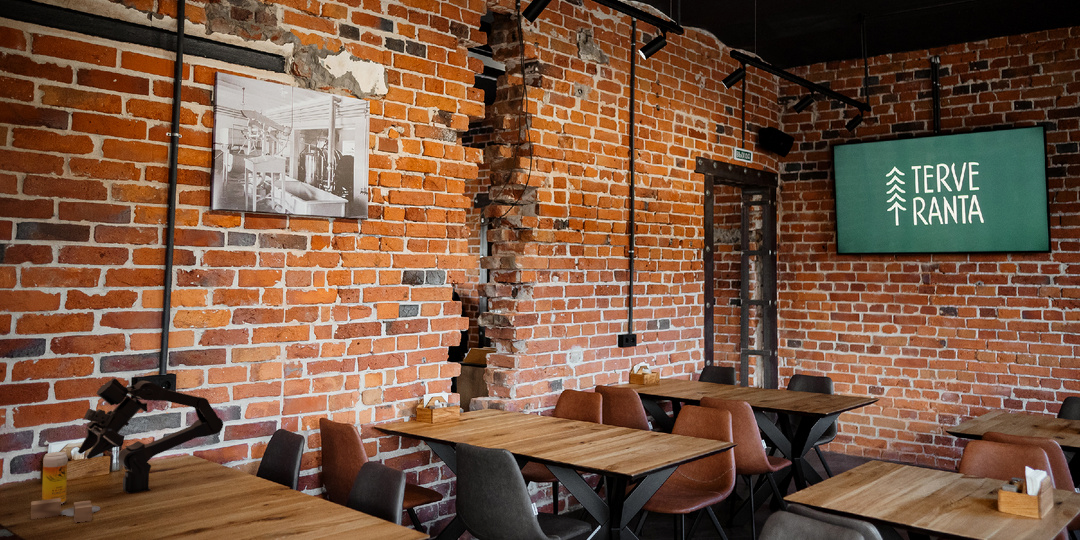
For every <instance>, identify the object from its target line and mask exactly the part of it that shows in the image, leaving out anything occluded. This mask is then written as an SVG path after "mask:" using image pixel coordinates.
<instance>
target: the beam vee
mask: <svg viewBox="0 0 1080 540" xmlns="http://www.w3.org/2000/svg"><path fill="white" fill-rule="evenodd" d="M30 505H31V506H30V519H31V520H36V519H37V518H38V519H46V518H51V517H52V516H53V517H59V516H58V515H61V516H63V515H66V516H65V517H73V516H74V517H73V521H74V524H78V523H77V522H80V523H86V522H85V521H87V522H92V518H93V516H92V515H93V514H95V513H98V512H99V511H100V510H101V507H100V506H98V505H92V502H91V500H83V501H75V502H73V506H72V507H69V508H65V509H63V510H62V505H61V498H57V499H49V500H42V499H41V500H40V499H39V500H35V501H33V500H32V501H31V502H30ZM97 511H98V512H97ZM94 512H95V513H94ZM45 517H46V518H45Z"/></svg>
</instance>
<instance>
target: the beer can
mask: <svg viewBox="0 0 1080 540" xmlns="http://www.w3.org/2000/svg"><path fill="white" fill-rule="evenodd" d="M42 459H43V460H42V463H43V464H42V487H41V489H42V490H41V491H42V492H41V493H42V495H41V500H49V499H57V498H61V504H62V505H64V504H65V502H66V501H67V486H68V485H67V481H68V480H67V479H68V455H67V452H65V451H52V452H48V453H45V455H44V456H43V458H42ZM63 503H64V504H63Z"/></svg>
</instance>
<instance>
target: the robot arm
mask: <svg viewBox="0 0 1080 540" xmlns="http://www.w3.org/2000/svg"><path fill="white" fill-rule="evenodd" d="M95 395H97V396H98V397H99V398H101V399H102V400H103V401H105V402H106V403H107V404H109V405H110V406H115V405H116V407H115V408H114V409H113V410H109V411H107V412H106V410H104V409H97V410H95V409H92V408H87V409H86V410H87V411H86V413H85V415H84V417H83V419H85V420H86V421H89V422H88V423H87V424H86V426H85V427H86V429H85V430H86V437H85V438H84V440H83V442H82V444H81V446H80V447H79V449H78V451H77V453H78V454H80V455H81V454H83V453H85V452H87V451H88V450H90V451H89V452H88V453H87V455H86V456H85V458H87V459H88V460H91V459H92V458H95V457H96V456H99V455H101V454H103V453H105V452H107V451H109V450H111V449H113V448H117V446H118V447H120V446H121V445H122V443H123V442H124V437H123V435H122V434H121V435H120V433H119V432H121V430H122V429H123V428H124V427H125V426H126V427H128V425H130V423H129V422H130V420H132V419H133V417H134V416H136V414H137V413H139V411H140V410H141V411H142V412H144V413H147V412H148V403H147V402H142V401H140V400H139V399H141V400H143V401H152V402H162V401H163V402H170V403H173V404H177V405H182V406H185V407H191V408H194V410H195V413H196V414H195V415H196V417H197V418H198V419H197V420H196V421H194V422H193V423H192V424H191V425H190V426H187V427H185V428H182V429H180V430H178V431H175V432H173V433H171V434H168V435H165V436H163V437H161V438H159V439H156V440H153V441H151V442H149V443H143V442H141V441H138V440H137V441H136V442H134V443H133V444H130V445H125V446H124V447H125V448H123V449H121V450H120V452H119V454H118V456H117V460H118V463H119V464H120V465H122V467H123V468H124V470H126V471H124V476H123V477H122V491H124V492H125V493H127V494H135V493H136V494H137V493H142V492H147V491H151V487H149V485H150V471H151V468H152V465H151V464H150V463H149V461H150V460H151V459H152V458H153V457H155V456H157V455H158V454H162V453H164V452H166V451H169V450H171V449H173V448H176V447H178V446H181V445H182V444H186V443H187V442H190V441H192V440H194V439H197V438H203V437H210V436H213V435H217V434H219V433H220V432H222V430H223V427H224V421H223V419H222V418H220V417H219V416H218V414H217V412H215V410H214V408H213V407H212V406H211V405H210V401H209V400H208V399H207V398H206V397H203V396H197V395H196V396H195V395H191V394H187V393H183V392H179V391H174V390H170V389H167V388H166V387H162V386H161V385H158V384H156V383H154V382H151V381H149V380H140V381H138V382H136V384H134V385H130V386H126V387H125V385H123V384H122V383H121V382H120V381H119V380H118V379H116V377H113V378H111V379H110V380H108V381H106V382H105V383H104V384H102V385H101V386H100V387H99V389H97V391H96V394H95ZM129 395H130V396H133V397H134V398H132V397H130V396H129ZM138 398H139V399H138Z"/></svg>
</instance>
